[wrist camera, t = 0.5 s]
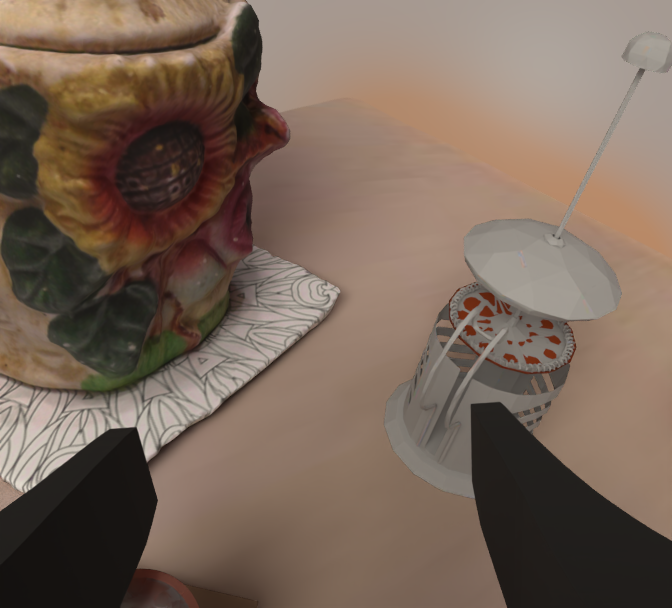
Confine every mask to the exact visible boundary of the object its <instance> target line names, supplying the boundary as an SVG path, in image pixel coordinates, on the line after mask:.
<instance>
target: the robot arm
mask: <svg viewBox="0 0 672 608" xmlns="http://www.w3.org/2000/svg"><path fill="white" fill-rule="evenodd" d="M471 460H472V485H473V490H474V495H475V500H476V506H477V510H478V515H479V520H480V525H481V528H482V531H483V535H484V538H485V541H486V544H487V547H488V550H489V553H490V556H491V559H492V563H493V566H494V569H495V572H496V575H497V578H498V581H499V584H500V587H501V590H502V593H503V596H504V599H505V602H506V605H507V608H672V541H671V540H669V539H667V538H666V537H664V536H662V535H661V534H659V533H657V532H655V531H654V530H652V529H650V528H649V527H647V526H646V525H644V524H643V523H641V522H639V521H638V520H636V519H635V518H633V517H632V516H630V515H629V514H627V513H626V512H624V511H623V510H622V509H620V508H619V507H617V506H616V505H614V504H613V503H611V502H610V501H609V500H607V499H606V498H604V497H603V496H602V495H600V494H599V493H598V492H596V491H595V490H594V489H592V488H591V487H590V486H589V485H588V484H586V483H585V482H584V481H583V480H581V479H580V478H579V477H578V476H577V475H575V474H574V473H573V472H572V471H571V470H570V469H569V468H567V467H566V466H565V465H564V464H563V463H562V462H561V461H560V460H559V459H557V458H556V457H555V456H554V455H553V454H552V453H551V452H550V451H549V450H548V449H547V448H546V447H544V446H543V445H542V444H541V443H540V442H539V441H538V440H537V439H536V438H535V437H534V436H533V435H532V434H531V433H530V432H529V431H528V430H527V429H526V428H525V427H524V426H523V425H522V423H521V422H520V421H519V420H518V419H517V418H516V417H515V416H514V415H513V414H512V413H511V412H510V411H509V410H508V409H507V408H506V406H504V405H503V404H502V403H501V402H489V403H475V404H471ZM157 502H158V499H157V496H156V492H155V489H154V485H153V482H152V478H151V475H150V471H149V468H148V465H147V461H146V458H145V454H144V451H143V447H142V444H141V440H140V437H139V433H138V430H137V427H129V428H114V429H109V430H107V431H106V432H104V433H103V434H101V435H100V436H99V437H97V438H96V439H95V440H93V441H92V442H91V443H89V444H88V445H87V446H85V447H84V448H83V449H82V450H80V451H79V452H78V453H76V454H75V455H74V456H73V457H71V458H70V459H69V460H68V461H66V462H65V463H64V464H62V465H61V466H60V467H59V468H57V469H56V470H55V471H54V472H52V473H51V474H50V475H48V476H47V477H46V478H45V479H43V480H42V481H41V482H39V483H38V484H37V485H36V486H34V487H33V488H32V489H30V490H29V491H28V492H26V493H25V494H23V495H22V496H21V497H19V498H18V499H17V500H15V501H14V502H12V503H11V504H10V505H8V506H7V507H6V508H4V509H3V510H1V511H0V608H120V606H121V604H122V601H123V599H124V596H125V594H126V592H127V589H128V587H129V585H130V582H131V580H132V578H133V575H134V573H135V570H136V568H137V566H138V563H139V561H140V558H141V556H142V553H143V551H144V548H145V546H146V543H147V540H148V536H149V533H150V529H151V526H152V522H153V518H154V514H155V510H156V506H157Z"/></svg>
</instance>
